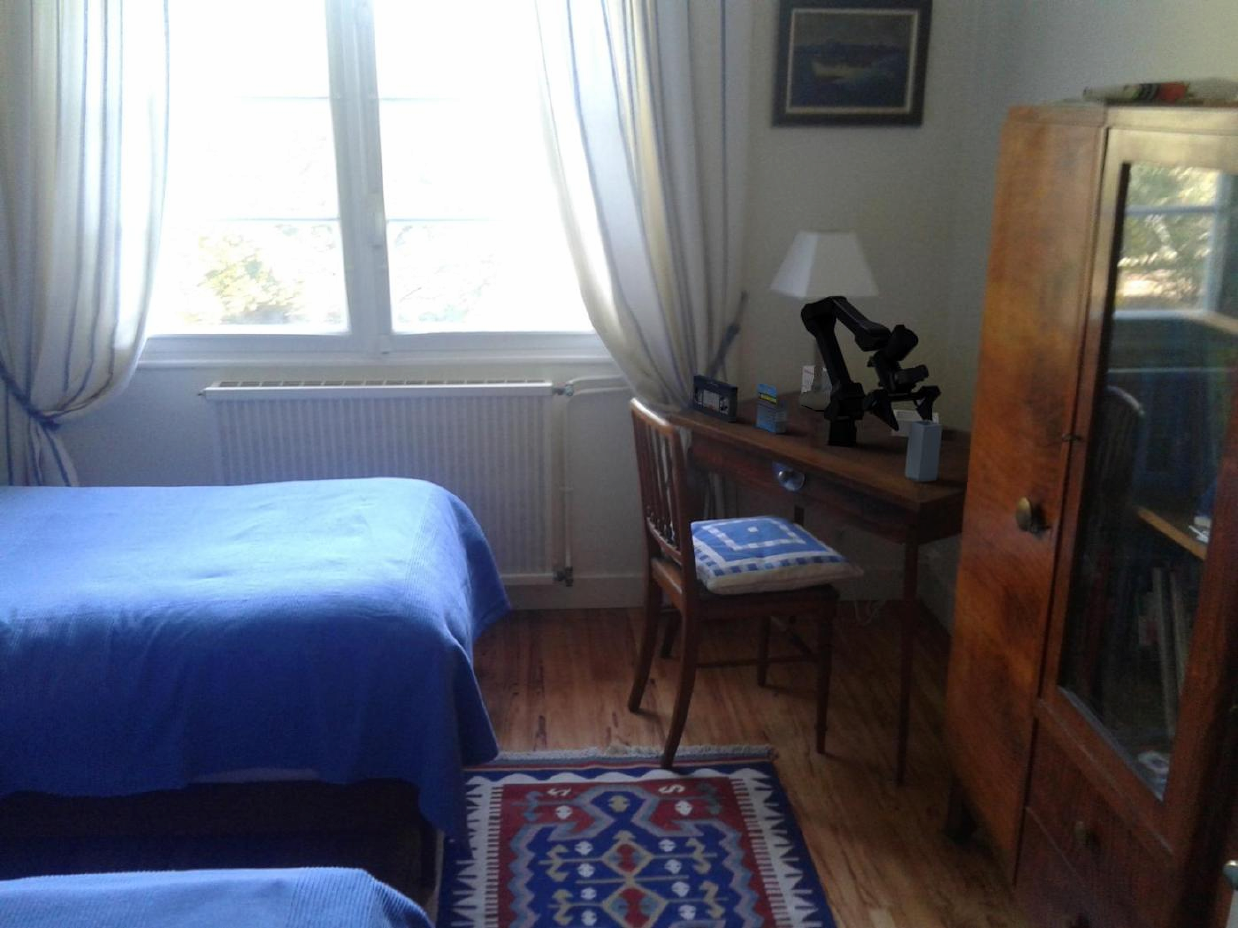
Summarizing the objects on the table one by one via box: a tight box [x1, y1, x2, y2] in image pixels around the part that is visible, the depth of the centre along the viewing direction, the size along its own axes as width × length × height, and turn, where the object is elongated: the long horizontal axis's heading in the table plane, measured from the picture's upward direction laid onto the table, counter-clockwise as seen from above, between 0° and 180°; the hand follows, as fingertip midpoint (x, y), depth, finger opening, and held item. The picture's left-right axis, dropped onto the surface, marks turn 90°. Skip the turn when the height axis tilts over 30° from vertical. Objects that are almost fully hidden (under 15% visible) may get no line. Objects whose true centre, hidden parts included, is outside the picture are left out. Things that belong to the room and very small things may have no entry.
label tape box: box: [756, 381, 788, 435], centre depth 283 cm, size 9×4×12 cm, turn 27°
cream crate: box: [890, 409, 940, 438], centre depth 284 cm, size 12×12×4 cm
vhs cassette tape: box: [692, 374, 739, 424], centre depth 297 cm, size 18×3×10 cm, turn 28°
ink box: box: [800, 365, 832, 396], centre depth 308 cm, size 8×5×12 cm, turn 22°
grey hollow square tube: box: [904, 420, 943, 483], centre depth 242 cm, size 5×5×13 cm
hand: (914, 429), depth 244 cm, fingers open, 9 cm apart
